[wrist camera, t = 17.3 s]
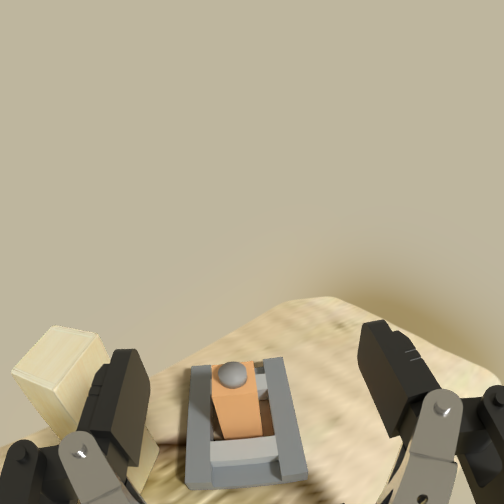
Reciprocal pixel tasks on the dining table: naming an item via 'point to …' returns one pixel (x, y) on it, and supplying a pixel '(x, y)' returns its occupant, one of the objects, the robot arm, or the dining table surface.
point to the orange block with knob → (236, 400)
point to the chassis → (243, 450)
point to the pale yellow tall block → (71, 386)
